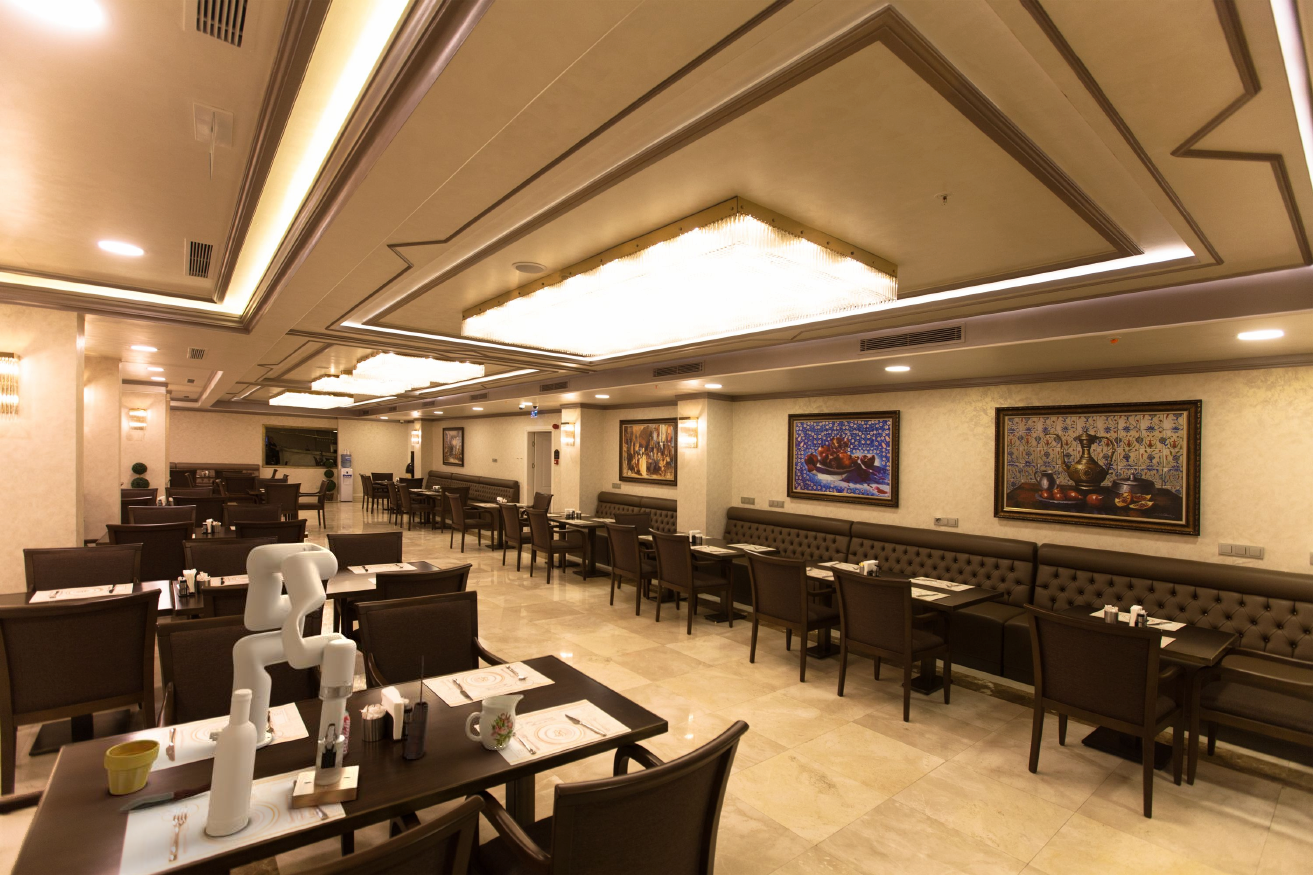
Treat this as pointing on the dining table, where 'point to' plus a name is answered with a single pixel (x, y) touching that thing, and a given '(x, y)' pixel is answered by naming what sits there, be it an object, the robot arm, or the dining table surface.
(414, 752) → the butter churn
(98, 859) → the dining table surface
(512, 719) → the pitcher
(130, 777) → the flower pot
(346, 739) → the soda can
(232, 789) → the bottle
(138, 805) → the knife
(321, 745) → the towel roll
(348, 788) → the stand
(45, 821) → the dining table surface
